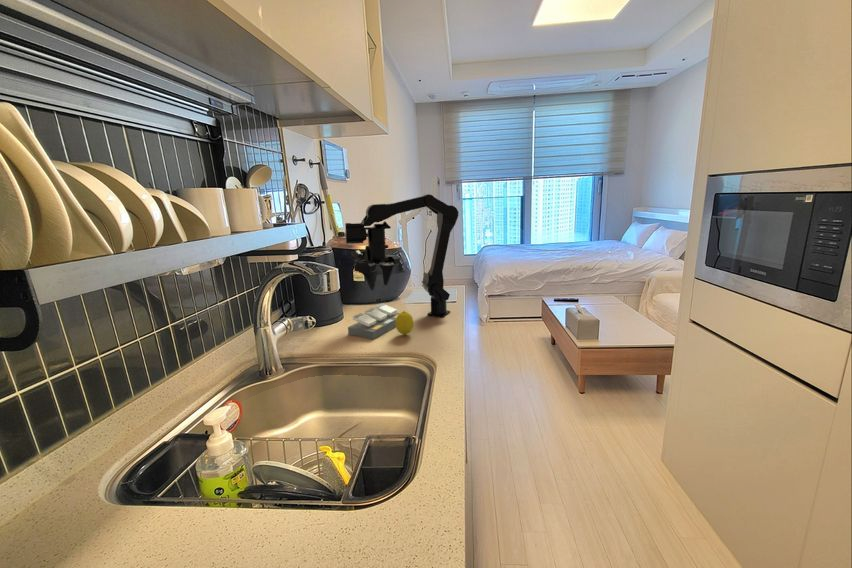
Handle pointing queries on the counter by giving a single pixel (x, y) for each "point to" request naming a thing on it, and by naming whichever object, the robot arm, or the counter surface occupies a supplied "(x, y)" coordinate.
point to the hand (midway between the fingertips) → (379, 287)
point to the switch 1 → (364, 319)
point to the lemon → (404, 323)
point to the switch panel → (374, 327)
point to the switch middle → (375, 314)
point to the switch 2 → (386, 309)
